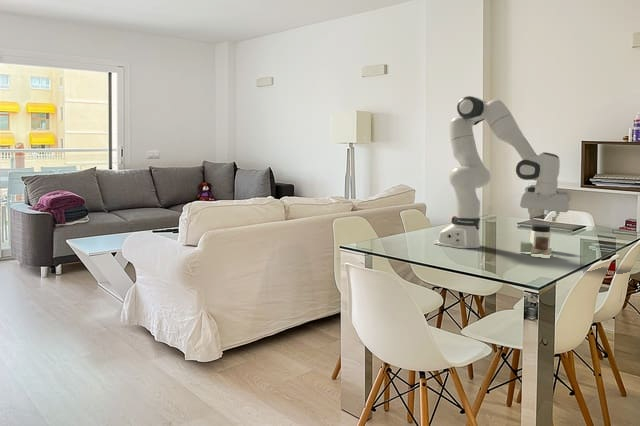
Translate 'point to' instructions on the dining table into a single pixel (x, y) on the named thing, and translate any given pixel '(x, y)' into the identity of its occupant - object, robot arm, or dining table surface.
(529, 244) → the sage cube
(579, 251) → the dining table surface
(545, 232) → the jar
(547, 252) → the maple slab
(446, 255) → the dining table surface
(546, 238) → the walnut cube
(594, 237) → the dining table surface
